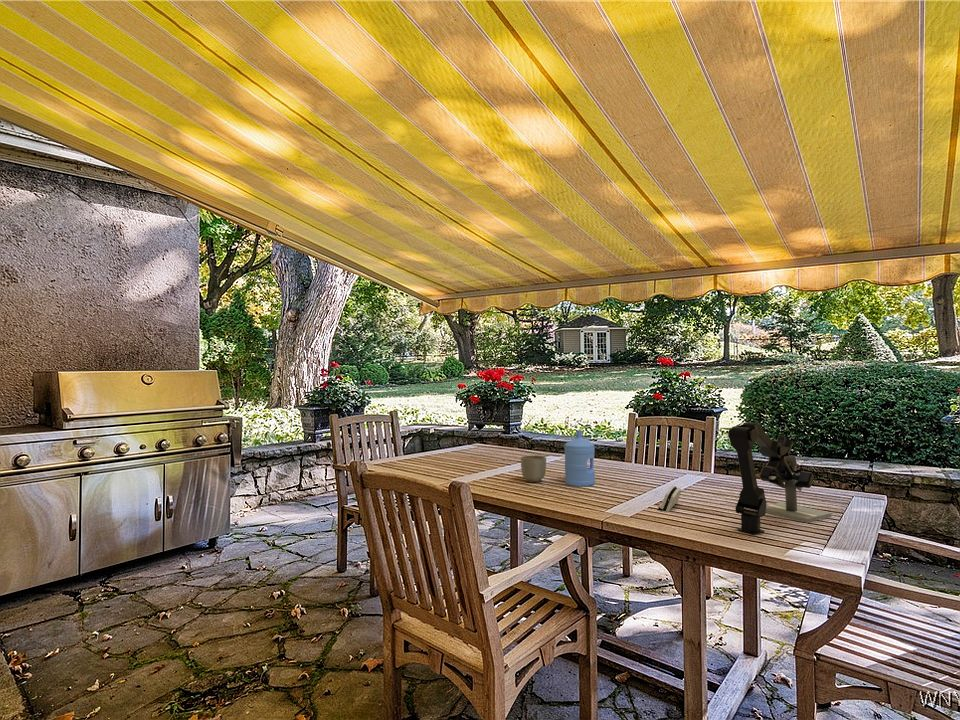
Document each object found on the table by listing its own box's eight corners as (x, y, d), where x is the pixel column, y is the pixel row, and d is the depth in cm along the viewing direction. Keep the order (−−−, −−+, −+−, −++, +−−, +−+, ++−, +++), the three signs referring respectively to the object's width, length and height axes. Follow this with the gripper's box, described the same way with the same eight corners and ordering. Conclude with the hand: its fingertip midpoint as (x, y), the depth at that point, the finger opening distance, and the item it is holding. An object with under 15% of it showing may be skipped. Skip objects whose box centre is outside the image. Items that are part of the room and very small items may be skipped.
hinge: (665, 501, 235) (673, 481, 233) (676, 506, 233) (683, 486, 231) (656, 510, 221) (664, 488, 219) (667, 515, 219) (675, 493, 217)
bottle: (798, 511, 210) (796, 477, 209) (786, 511, 211) (785, 476, 211) (796, 508, 213) (794, 475, 213) (785, 508, 215) (783, 474, 215)
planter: (521, 478, 288) (520, 455, 288) (546, 478, 287) (545, 455, 287) (520, 484, 274) (520, 459, 274) (547, 484, 273) (546, 459, 273)
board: (807, 522, 200) (807, 518, 200) (758, 510, 218) (758, 506, 218) (831, 516, 208) (831, 512, 208) (782, 505, 225) (782, 501, 225)
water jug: (568, 487, 266) (567, 432, 266) (562, 480, 281) (561, 429, 282) (598, 486, 266) (597, 432, 266) (591, 480, 281) (590, 428, 282)
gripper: (811, 452, 203) (823, 476, 209) (762, 447, 218) (774, 470, 224) (803, 475, 198) (815, 499, 204) (753, 468, 213) (766, 491, 219)
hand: (792, 488), depth 213 cm, fingers open, 6 cm apart
